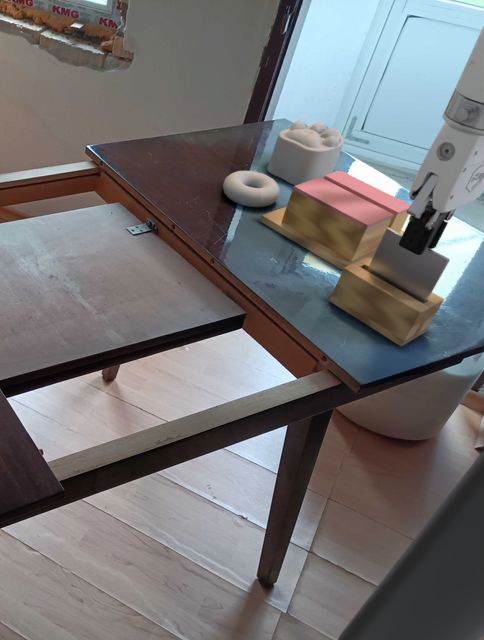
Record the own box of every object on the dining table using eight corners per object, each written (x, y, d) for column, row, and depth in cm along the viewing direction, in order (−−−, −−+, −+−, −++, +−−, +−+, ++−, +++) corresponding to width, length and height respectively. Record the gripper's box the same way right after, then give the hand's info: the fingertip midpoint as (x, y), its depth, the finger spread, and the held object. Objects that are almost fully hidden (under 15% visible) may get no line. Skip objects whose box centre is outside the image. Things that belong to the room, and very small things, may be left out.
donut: (253, 181, 130) (210, 187, 127) (259, 164, 128) (215, 170, 125) (287, 207, 123) (242, 214, 120) (293, 189, 121) (247, 196, 118)
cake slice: (395, 241, 114) (413, 205, 110) (381, 247, 112) (398, 212, 108) (326, 203, 122) (339, 169, 118) (311, 209, 120) (324, 175, 116)
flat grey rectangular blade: (426, 306, 94) (473, 223, 86) (417, 311, 93) (463, 228, 85) (369, 273, 100) (408, 192, 91) (360, 277, 99) (398, 196, 90)
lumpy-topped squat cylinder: (260, 168, 134) (273, 125, 129) (300, 153, 141) (314, 112, 135) (304, 190, 128) (320, 146, 123) (344, 174, 135) (361, 131, 129)
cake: (423, 249, 115) (444, 208, 110) (359, 280, 107) (379, 237, 102) (324, 197, 127) (339, 157, 122) (259, 221, 119) (273, 180, 114)
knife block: (424, 332, 98) (444, 299, 94) (400, 346, 95) (420, 312, 91) (353, 289, 105) (368, 256, 101) (328, 301, 102) (343, 267, 98)
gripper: (478, 136, 74) (407, 278, 86) (549, 110, 81) (474, 243, 93) (414, 112, 78) (355, 250, 90) (486, 89, 85) (423, 219, 97)
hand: (416, 246), depth 91 cm, fingers closed on flat grey rectangular blade, 2 cm apart
